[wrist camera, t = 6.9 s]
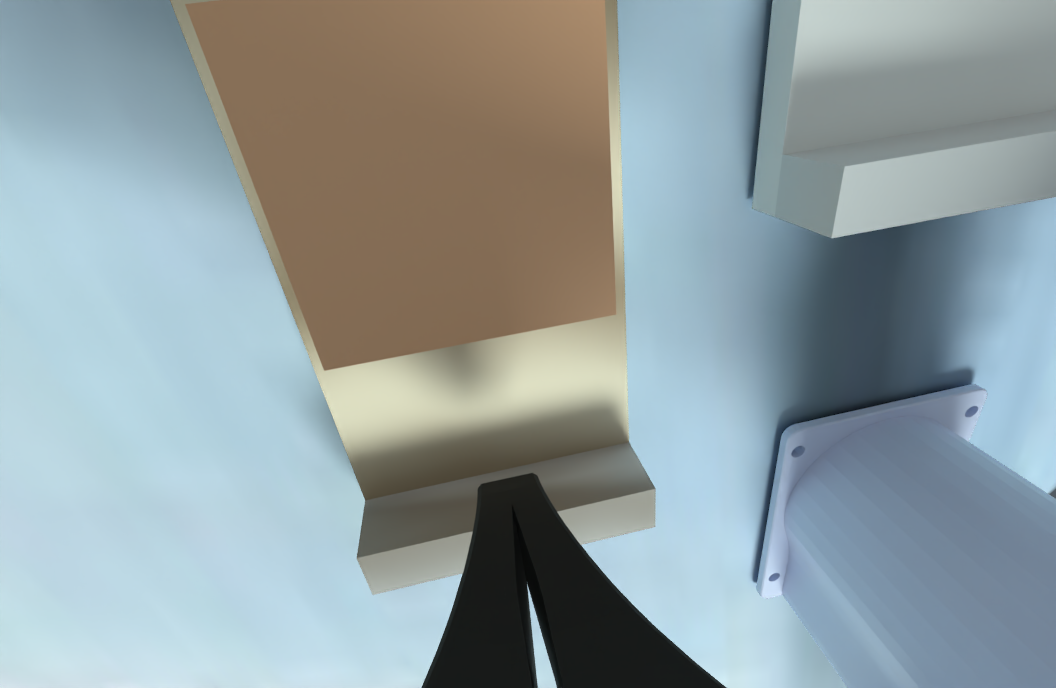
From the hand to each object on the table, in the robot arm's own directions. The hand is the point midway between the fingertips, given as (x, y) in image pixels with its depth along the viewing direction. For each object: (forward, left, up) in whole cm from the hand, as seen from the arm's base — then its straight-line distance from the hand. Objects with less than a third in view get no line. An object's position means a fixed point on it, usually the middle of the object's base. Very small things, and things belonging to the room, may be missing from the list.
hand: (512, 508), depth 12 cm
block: (+8, 0, -3) cm, 8 cm away
